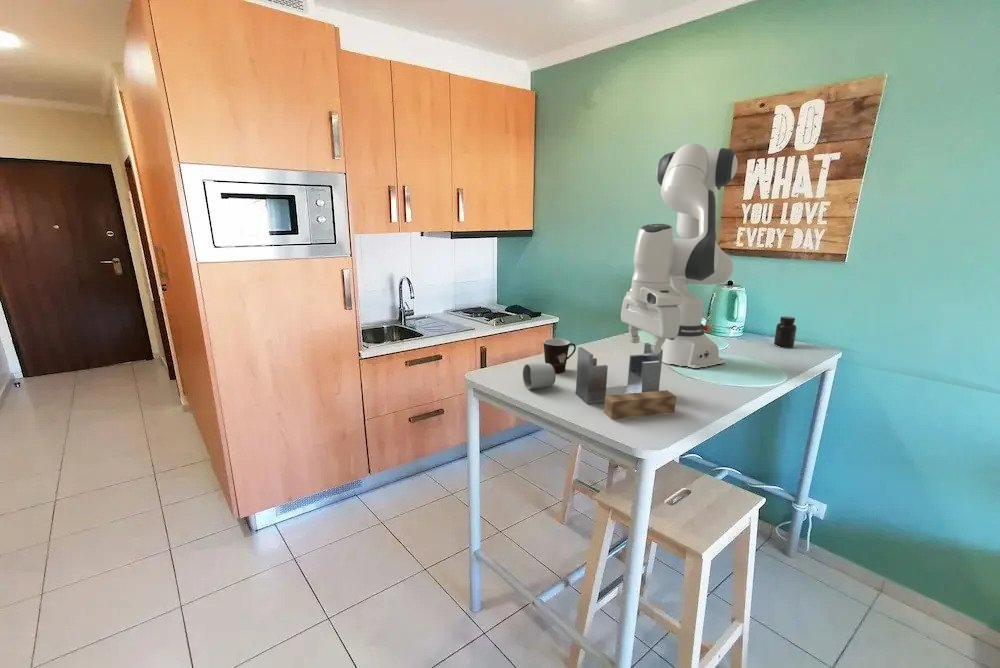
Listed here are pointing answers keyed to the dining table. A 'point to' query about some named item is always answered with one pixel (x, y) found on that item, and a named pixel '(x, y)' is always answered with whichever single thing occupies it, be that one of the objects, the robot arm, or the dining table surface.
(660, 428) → the dining table surface
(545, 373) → the ceramic mug
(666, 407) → the rail
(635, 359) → the bracket pair
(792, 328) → the supplement bottle
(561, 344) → the coffee mug
